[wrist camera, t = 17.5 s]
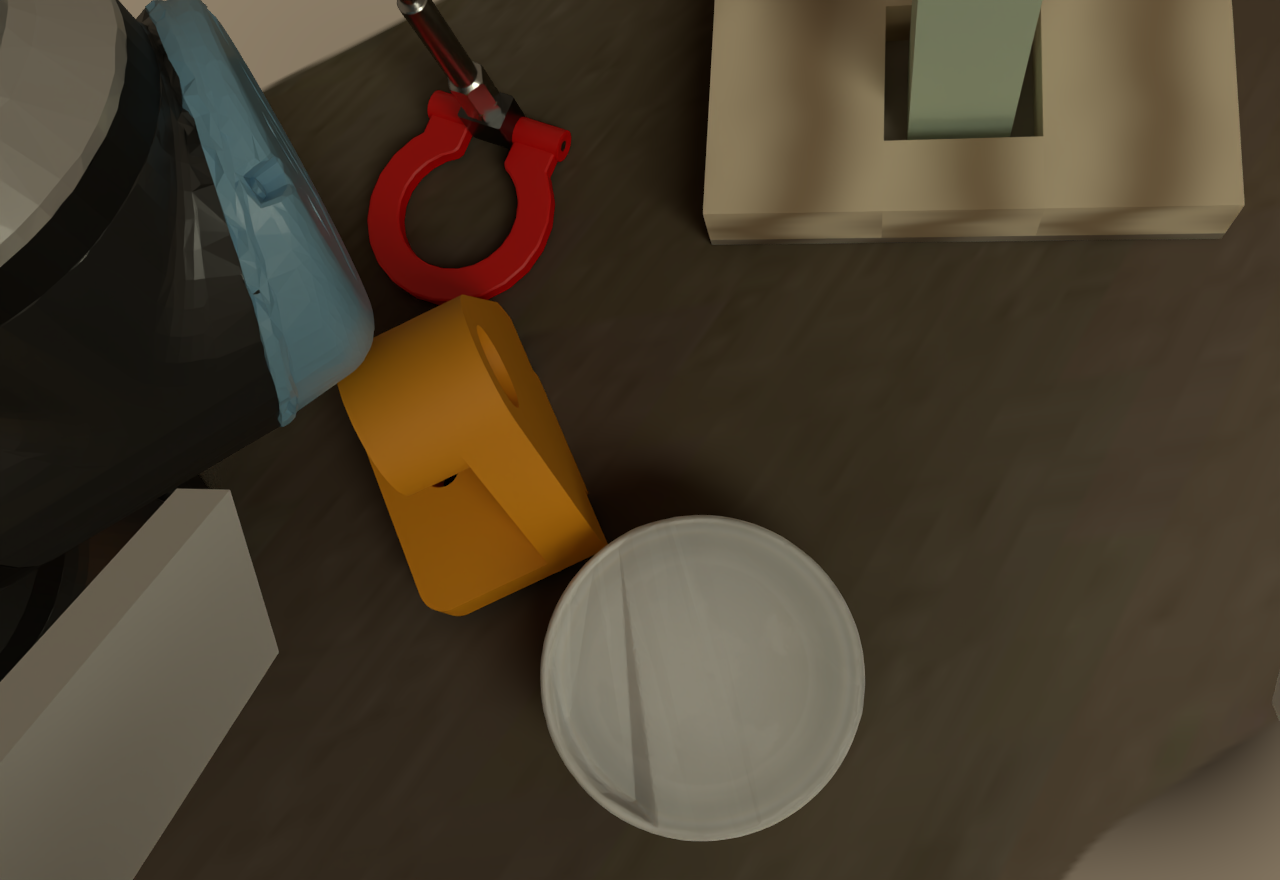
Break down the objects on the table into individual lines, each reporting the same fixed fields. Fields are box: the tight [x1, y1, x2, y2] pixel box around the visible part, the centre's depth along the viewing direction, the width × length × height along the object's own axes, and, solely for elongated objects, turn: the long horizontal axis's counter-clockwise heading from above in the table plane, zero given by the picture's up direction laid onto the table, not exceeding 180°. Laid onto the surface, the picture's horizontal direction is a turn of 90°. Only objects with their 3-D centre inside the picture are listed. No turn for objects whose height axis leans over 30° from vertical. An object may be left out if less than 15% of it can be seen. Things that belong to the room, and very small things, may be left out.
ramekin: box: [540, 515, 865, 841], centre depth 44 cm, size 11×11×5 cm
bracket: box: [337, 295, 608, 616], centre depth 44 cm, size 11×7×12 cm
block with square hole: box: [703, 0, 1245, 245], centre depth 49 cm, size 20×12×3 cm, turn 86°
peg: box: [907, 0, 1042, 140], centre depth 44 cm, size 4×4×12 cm
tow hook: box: [367, 0, 571, 305], centre depth 47 cm, size 8×13×9 cm
